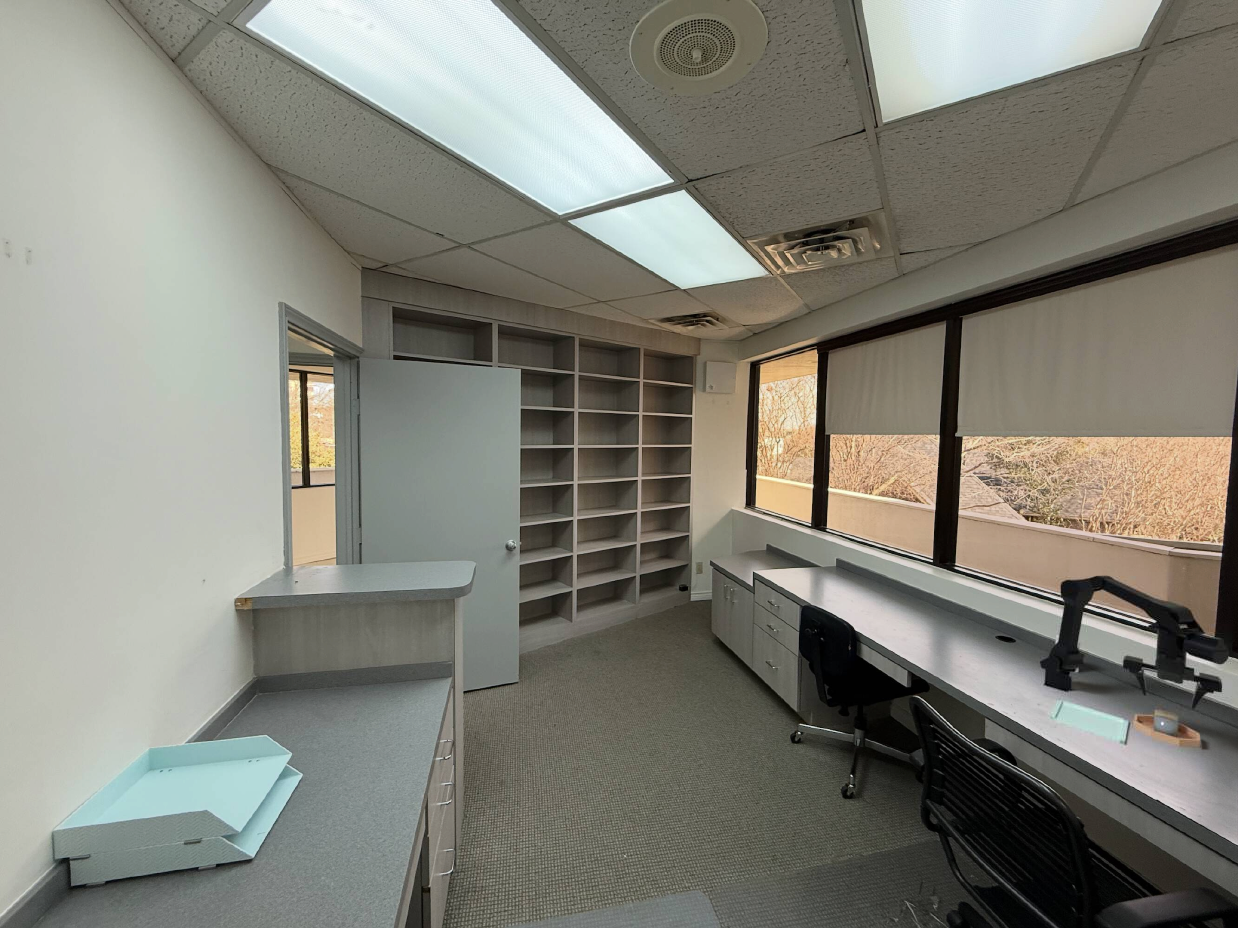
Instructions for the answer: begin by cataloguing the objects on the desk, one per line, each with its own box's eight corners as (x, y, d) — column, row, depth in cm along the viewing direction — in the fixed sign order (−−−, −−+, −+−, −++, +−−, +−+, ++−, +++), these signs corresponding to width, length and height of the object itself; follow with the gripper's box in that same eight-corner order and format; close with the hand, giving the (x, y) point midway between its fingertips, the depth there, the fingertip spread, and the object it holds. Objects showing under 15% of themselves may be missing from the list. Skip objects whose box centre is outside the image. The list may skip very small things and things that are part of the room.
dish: (1132, 733, 143) (1133, 724, 143) (1134, 717, 151) (1135, 709, 151) (1200, 754, 133) (1200, 745, 133) (1198, 736, 142) (1199, 728, 142)
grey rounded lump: (1153, 735, 141) (1154, 718, 141) (1153, 729, 144) (1154, 713, 144) (1177, 743, 137) (1178, 725, 137) (1177, 736, 140) (1178, 720, 140)
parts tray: (1049, 721, 149) (1049, 717, 149) (1058, 702, 160) (1058, 698, 160) (1124, 746, 137) (1124, 742, 136) (1128, 724, 148) (1128, 720, 148)
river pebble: (1153, 729, 144) (1154, 712, 144) (1153, 723, 147) (1154, 707, 147) (1177, 736, 141) (1178, 719, 141) (1177, 730, 144) (1178, 714, 144)
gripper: (1122, 645, 141) (1119, 697, 142) (1225, 668, 127) (1221, 726, 128) (1125, 636, 149) (1122, 685, 149) (1222, 656, 135) (1218, 711, 135)
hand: (1168, 701), depth 140 cm, fingers open, 9 cm apart
